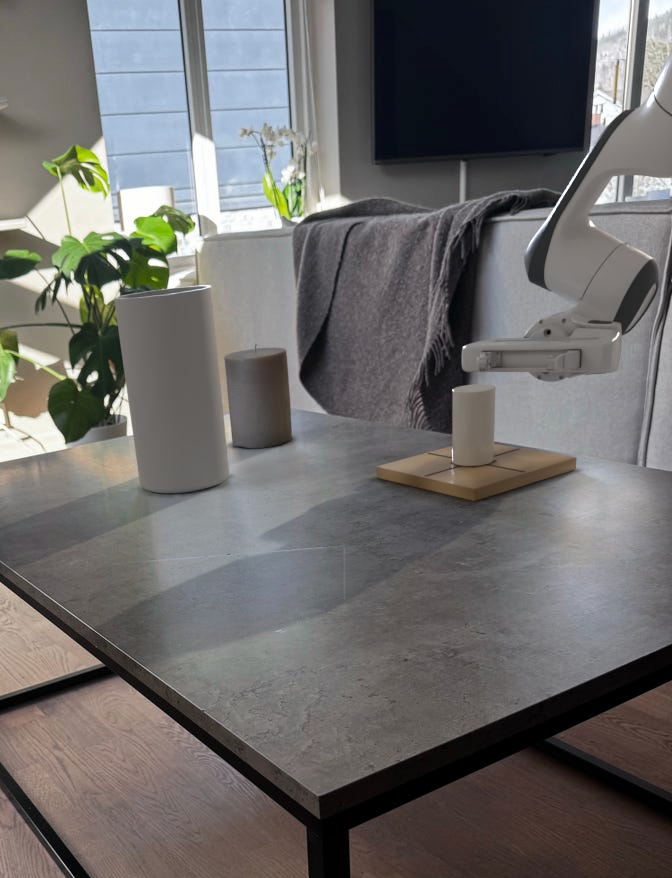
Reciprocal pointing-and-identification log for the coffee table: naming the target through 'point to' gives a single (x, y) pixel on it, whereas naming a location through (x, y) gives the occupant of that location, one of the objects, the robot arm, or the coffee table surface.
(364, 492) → the coffee table surface
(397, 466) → the game board
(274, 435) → the pillar candle
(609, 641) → the coffee table surface
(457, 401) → the white cylinder
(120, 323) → the cylinder vase
